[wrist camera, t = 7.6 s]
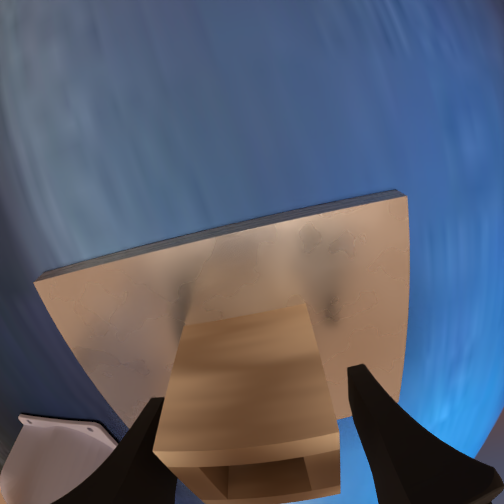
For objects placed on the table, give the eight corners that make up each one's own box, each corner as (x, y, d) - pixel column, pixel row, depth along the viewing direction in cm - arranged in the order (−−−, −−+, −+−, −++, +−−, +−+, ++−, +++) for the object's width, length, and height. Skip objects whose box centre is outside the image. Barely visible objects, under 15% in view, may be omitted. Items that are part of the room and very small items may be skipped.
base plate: (142, 429, 17) (126, 494, 13) (43, 272, 13) (-19, 336, 8) (393, 390, 16) (421, 459, 11) (396, 189, 11) (475, 239, 7)
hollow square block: (218, 401, 14) (210, 507, 9) (183, 326, 12) (152, 451, 7) (317, 385, 14) (340, 493, 9) (305, 303, 12) (339, 432, 7)
